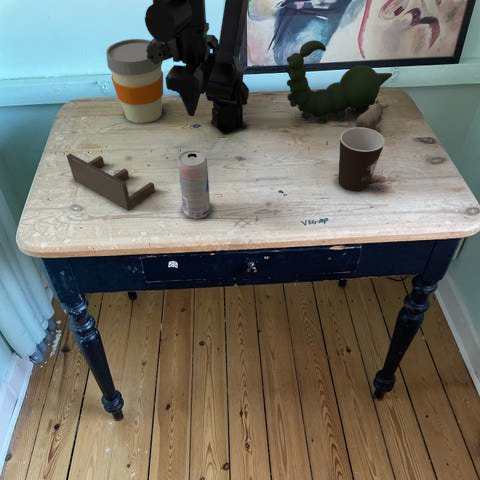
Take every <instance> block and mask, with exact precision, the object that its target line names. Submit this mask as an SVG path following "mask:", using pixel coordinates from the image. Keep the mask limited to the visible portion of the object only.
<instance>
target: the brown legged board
mask: <svg viewBox="0 0 480 480" xmlns="http://www.w3.org/2000/svg"><path fill="white" fill-rule="evenodd" d="M66 159H67V162H68V165H69V168H70V173H71V174H72V178H73V180H74V181H75V182H77V183H78V184H80V185H82V186H84V187H85V188H87V189H89V190H91V191H92V192H95V194H98V195H100V196H102V197H103V198H105V199H106V200H108V201H110V202H112V203H114V204H116V205H118V206H119V207H121V208H123V209H125V210H127V211H129V210H132V208H134V207H135V206H137V205H138V204H140V203H141V202H143V201H144V200H145V199H147V198H148V197H150V196H151V195H153V194H154V193H155V192H156V187H155V183H154V182H151V181H150V182H149V183H147V184H145V185H144V186H142V187H141V188H139V189H138V190H136V191H135V192H134V193H132V194H130V195H129V190H128V185H127V183H126V182H125V181H127V180H129V179H130V176H129V171H128V169H126V168H123V169H121V170H120V171H118V172H117V173H115V174H114V175H112V174H110V173H108V172H106V171H105V170H102V169H101V168H103V167H104V166H105V161H104V156H101V155H98V156H97V157H94V158H93V159H92V160H89V161H88V162H87V161H86V160H84V159H82V158H80V157H78V156H76V155H74V154H73V153H68V154H66Z"/></svg>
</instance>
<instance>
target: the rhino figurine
mask: <svg viewBox="0 0 480 480" xmlns="http://www.w3.org/2000/svg"><path fill="white" fill-rule="evenodd" d="M388 107H389V103H385V104H382V103H380V100H379V99H376V100H375V103H374V104H373V105H371V106H369V109H368V110H367V111H366V112H364V113H363V114H361V115H360V114H359V116H358V117H357V119H356V121H355V128H358V127H361V128H369V129H372V130H375V131H376V130H377V129H376V128H377V126H378V125H379V123H380V122H381V121H382V118H383V114H384V109H385V108H388Z"/></svg>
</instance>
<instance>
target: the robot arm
mask: <svg viewBox="0 0 480 480" xmlns="http://www.w3.org/2000/svg"><path fill="white" fill-rule="evenodd" d="M249 2H250V1H249V0H225V1H224V7H223V13H222V20H221V26H220V33H219V39H218V38H217V37H216V36H215V34H208V32H209V31H210V22H207V10H206V0H152V4H150V5H149V6H148V7H147V8H146V10H145V15H144V23H145V27H146V29H147V31H148V33H149V34H150V36H151V38H152V39H151V40H150V43H149V44H148V46H147V47H146V48H147V49H146V51H147V58H148V59H149V60H151V61H152V62H153V63H154V64H159V63H160V62H161V61H163V62H164V61H167V60H170V59H172V62H173V63H180V62H182V64H184V65H180V64H173V66H172V67H171V68H170V69H169V71H168V73H167V74H166V75H165V86H166V89H167V90H168V91H172V92H176V93H177V94H179V96H180V98H181V101H182V103H183V106H184V107H185V110H186V113H187V115H188V117H195V115H196V112H197V108H198V105H199V102H200V98H201V95H205V97H206V101H207V102H212V108H211V120H210V124H211V125H212V126H214V127H215V128H216V129H217V130H218V131H219V132H220V133H221V134H222V135H226V134H229V133H232V132H236V131H238V130H241V129H245V128H246V127H247V124H246V122H244V120H243V119H244V118H243V117H244V116H243V114H244V113H243V112H244V111H243V110H244V109H243V108H244V106H247V105H248V100H249V96H250V88H249V87H248V86H247V85H246V83H245V82H244V74H245V73H244V69H243V66H242V63H241V60H240V54H241V48H242V43H243V37H244V32H245V31H244V30H245V26H246V25H245V24H246V18H247V13H248V7H249Z"/></svg>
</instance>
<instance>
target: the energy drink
mask: <svg viewBox="0 0 480 480" xmlns="http://www.w3.org/2000/svg"><path fill="white" fill-rule="evenodd" d="M177 168H178V176H179V185H180V193H181V200H182V201H181V202H182V209H183V213H184V215H185V216H187V217H188V218H190V219H195V220H198V219H203V218H205V217H207V216H208V215H209V214H210V212H211V199H210V184H209V183H210V182H209V170H208V160H207V157H206V155H205V153H204V152H202V151H200V150H194V149H191V150H186V151H184V152H181V153H180V154H179V156H178V159H177Z"/></svg>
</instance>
